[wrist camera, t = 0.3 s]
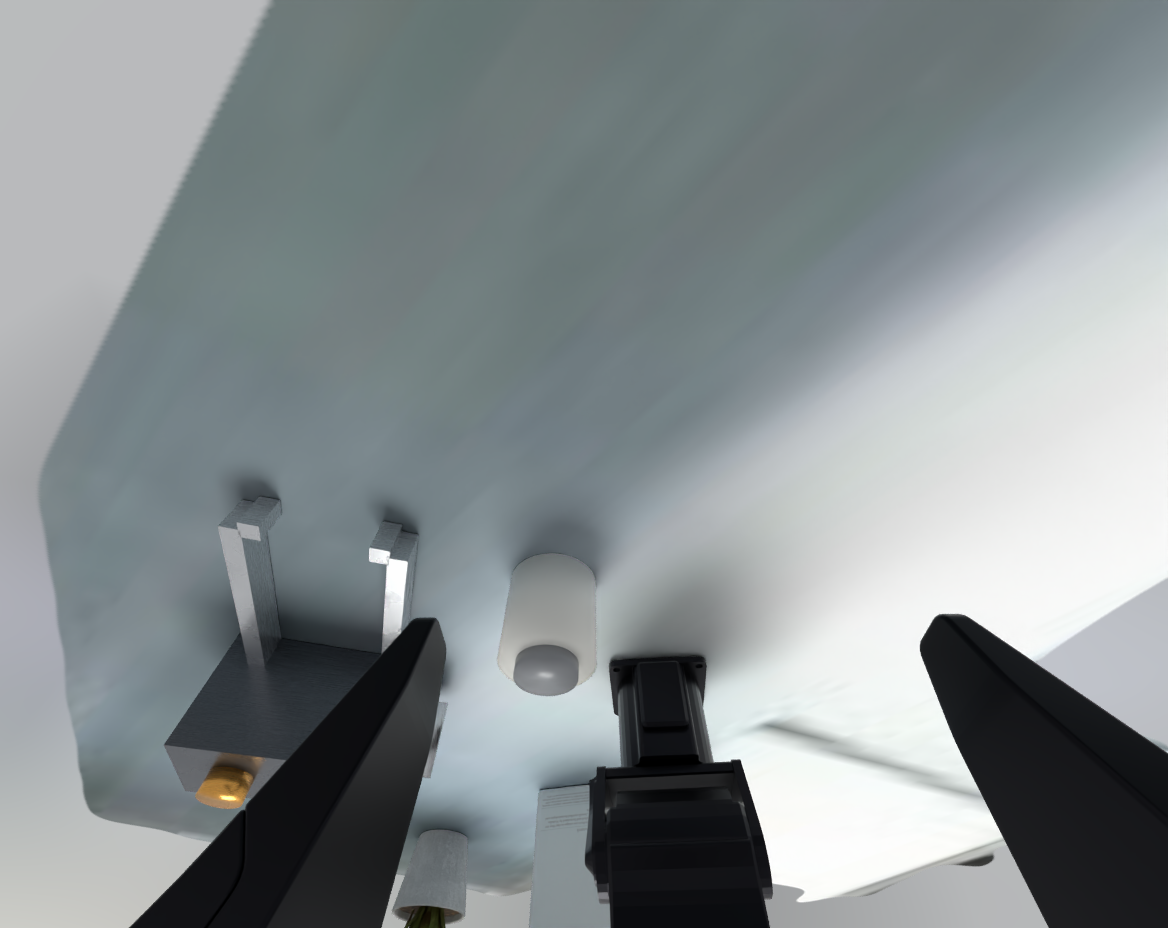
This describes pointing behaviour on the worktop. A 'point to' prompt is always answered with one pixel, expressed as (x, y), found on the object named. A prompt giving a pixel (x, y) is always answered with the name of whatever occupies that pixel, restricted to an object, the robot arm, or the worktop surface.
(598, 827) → the robot arm
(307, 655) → the motor clip
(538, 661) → the bottle
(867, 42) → the worktop surface
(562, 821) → the supplement box
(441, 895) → the house plant
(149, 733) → the worktop surface
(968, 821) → the worktop surface
